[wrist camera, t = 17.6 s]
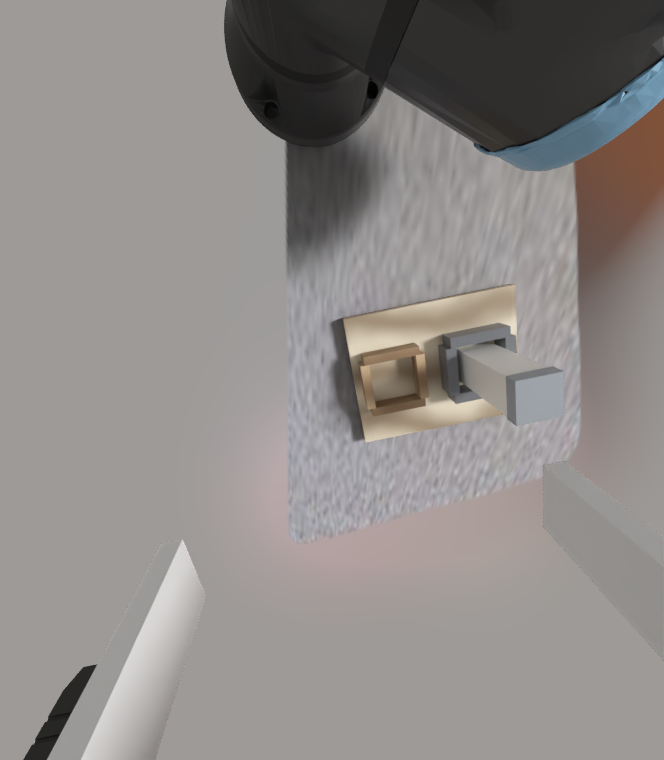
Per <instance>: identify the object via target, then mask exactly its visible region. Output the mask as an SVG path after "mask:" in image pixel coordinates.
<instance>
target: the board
mask: <svg viewBox="0 0 664 760" xmlns="http://www.w3.org/2000/svg"><path fill="white" fill-rule="evenodd" d="M342 319H343V324H344V330H345V335H346V341H347V346H348V351H349V357H350V362H351V368H352V373H353V379H354V384H355V390H356V395H357V401H358V406H359V412H360V417H361V423H362V428H363V434H364V439H365V442H370V441H375V440H380V439H385V438H390V437H395V436H400V435H405V434H409V433H414V432H419V431H424V430H429V429H434V428H439V427H444V426H449V425H453V424H458V423H463V422H468V421H473V420H478V419H483V418H488V417H493V416H497V415H502V414H503V413H501V412H500V411H499V410H497V409H496V408H495V407H494V406H492V405H491V404H490V403H488V402H487V401H486V400H484V399H478V400H473V401H468V402H463V403H459V404H455V403H454V402H453V401H452V400H451V399H450V398H449V397H448V393H447V392H445V391H444V390H443V389H442V381H441V370H440V360H439V350H438V345H441V344H443V339H442V334H446V333H451V332H455V331H460V330H465V329H470V328H475V327H480V326H485V325H490V324H495V323H502V324H505V325H508V326H510V328H511V334H513V335H516V353H517V331H516V288H515V284H507V285H502V286H497V287H493V288H488V289H483V290H478V291H473V292H468V293H463V294H458V295H453V296H448V297H443V298H439V299H434V300H429V301H424V302H419V303H414V304H409V305H404V306H399V307H394V308H389V309H385V310H380V311H375V312H370V313H365V314H360V315H355V316H350V317H345V318H342ZM488 342H491V343H493V344H495V341H494V340H492V341H488ZM409 343H415V344H417V345H418V346H419V349H420V351H421V352H423V353H424V354H425V363H426V372H427V381H428V390H429V398H425V401H426V406H423V407H418V408H413V409H408V410H404V411H399V412H394V413H389V414H384V415H379V416H374V417H373V415H372V412H371V410H368V409H367V407H366V404H365V399H364V394H363V388H362V382H361V376H360V371H359V365H358V362H362V358H361V353H365V352H370V351H375V350H380V349H384V348H389V347H394V346H399V345H404V344H409ZM369 368H370V374H371V380H372V386H373V392H374V398H375V402H376V401H381V400H385V399H390V398H395V397H400V396H405V395H410V394H415V393H416V389H415V381H414V373H413V365H412V357H406V358H401V359H396V360H391V361H386V362H382V363H377V364H372V365H369ZM459 385H463V383H462V382H460V381H459Z"/></svg>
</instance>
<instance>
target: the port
mask: <svg viewBox="0 0 664 760" xmlns="http://www.w3.org/2000/svg"><path fill="white" fill-rule="evenodd" d="M442 339H443V344H441V345H438V350H439V360H440V370H441V381H442V389H443V390H444V391H445V392H447V393H448V397H449V398H450V399H451V400H452V401H453V402H454V403H455V404H459V403H463V402H468V401H473V400H478V399H483V398H482V397H480V396H479V395H478V394H476V393H475V392H474V391H472V390H471V389H470V388H468V387H467V386H466V385H464V384H463V385H459V373H458V361H457V347H462V346H467V345H472V344H477V343H482V342H487V341H492V340H494V341H495V345H498V346H500V347H503V348H505V349H507V350H510V351H512V352H515V353H516V335H513V334H511V328H510V326H508V325H505V324H502V323H495V324H490V325H485V326H480V327H475V328H470V329H465V330H460V331H455V332H451V333H446V334H442Z"/></svg>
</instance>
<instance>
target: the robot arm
mask: <svg viewBox="0 0 664 760" xmlns="http://www.w3.org/2000/svg"><path fill="white" fill-rule="evenodd" d="M224 33H225V44H226V52H227V57H228V61H229V65H230V68H231V71H232V74H233V77H234V79H235V82H236V85H237V87H238V89H239V92H240V94H241V96H242V98H243V100H244V102H245V104H246V105H247V107H248V108H249V110H250V111H251V112H252V114H253V115H254V116H255V117H256V119H257V120H258V121H259V122H260V123H261V124H262V125H263V126H264V127H266V128H267V129H268V130H269V131H270V132H272V133H273V134H275V135H276V136H278V137H280V138H281V139H284V140H286V141H288V142H291V143H293V144H297V145H302V146H312V147H316V146H325V145H329V144H333V143H336V142H338V141H340V140H343V139H344V138H346V137H348V136H349V135H351V134H352V133H354V132H355V131H356V130H357V129H358V128H360V127H361V126H362V125H363V124H364V122H365V121H366V120H367V119H368V118H369V116H370V115H371V113H372V112H373V110H374V109H375V107H376V105H377V103H378V101H379V99H380V97H381V95H382V92H383V90H384V88H387V89H389V90H390V91H392V92H394V93H395V94H397V95H398V96H400V97H402V98H403V99H405V100H406V101H408V102H410V103H411V104H413V105H414V106H416V107H418V108H419V109H421V110H422V111H424V112H426V113H427V114H429V115H430V116H432V117H434V118H435V119H437V120H439V121H440V122H442V123H443V124H445V125H447V126H448V127H450V128H451V129H453V130H455V131H456V132H458V133H459V134H461V135H463V136H464V137H466V138H467V139H469V140H471V141H472V142H474V146H475V147H476V148H477V149H478V150H479V151H481V152H482V153H484V154H487V155H492V156H497V157H499V158H501V159H503V160H505V161H506V162H508V163H510V164H512V165H514V166H516V167H517V168H519V169H522V170H526V171H548V170H552V169H555V168H559V167H562V166H565V165H568V164H570V163H572V162H574V161H576V160H578V159H581V158H583V157H584V156H586V155H588V154H590V153H592V152H593V151H595V150H597V149H598V148H600V147H602V146H603V145H605V144H606V143H608V142H609V141H611V140H612V139H614V138H615V137H616V136H618V135H619V134H621V133H622V132H623V131H624V130H626V129H627V128H629V127H630V126H631V125H633V124H634V123H635V122H636V121H637V120H639V119H640V118H641V117H642V116H644V115H645V114H646V113H647V112H648V111H650V110H651V109H652V108H653V107H654V106H655V105H656V104H658V102H659V101H661V100H662V99H663V98H664V0H227V2H226V8H225V20H224ZM543 527H544V528H545V529H546V530H547V532H548V533H549V534H550V535H551V536H552V537H553V538H554V539H555V540H556V542H557V543H558V544H559V545H560V546H561V547H562V548H563V549H564V551H565V552H566V553H567V554H568V555H569V556H570V557H571V558H572V559H573V560H574V562H575V563H576V564H577V565H578V566H579V567H580V568H581V569H582V570H583V572H584V573H585V574H586V575H587V576H588V577H589V578H590V579H591V580H592V581H593V583H594V584H595V585H596V586H597V587H598V588H599V589H600V590H601V591H602V593H603V594H604V595H605V596H606V597H607V598H608V599H609V600H610V601H611V603H613V605H614V606H615V607H616V608H617V609H618V610H619V611H620V612H621V613H622V615H623V616H624V617H625V618H626V619H627V620H628V621H629V622H630V624H631V625H632V626H633V627H634V628H635V629H636V630H637V631H638V632H639V634H640V635H641V636H642V637H643V638H644V639H645V640H646V641H647V642H648V643H649V645H650V646H651V647H652V648H653V649H654V650H655V651H656V652H657V653H658V654H659V656H660V657H661V658H662V659H663V660H664V536H663V535H661V534H660V533H658V532H657V531H656V530H655V529H653V528H652V527H651V526H649V525H648V524H647V523H645V522H644V521H643V520H641V519H640V518H639V517H637V516H636V515H635V514H634V513H632V512H631V511H630V510H628V509H627V508H626V507H624V506H623V505H621V504H620V503H619V502H618V501H616V500H615V499H614V498H612V497H611V496H610V495H608V494H607V493H606V492H604V491H603V490H602V489H600V488H599V487H598V486H597V485H595V484H594V483H593V482H591V481H590V480H589V479H587V478H586V477H585V476H583V475H582V474H581V473H579V472H578V471H577V470H576V469H574V468H573V467H571V466H570V465H569V464H568V463H566V462H565V461H561V462H556V463H552V464H547V465H543ZM205 597H206V595H205V592H204V590H203V588H202V585H201V583H200V580H199V578H198V575H197V573H196V571H195V568H194V566H193V563H192V561H191V559H190V556H189V554H188V551H187V549H186V546H185V544H184V542H183V539H181V540H176V541H171V542H166V543H162V544H161V545H160V547H159V549H158V551H157V553H156V555H155V557H154V559H153V560H152V562H151V564H150V566H149V568H148V570H147V572H146V574H145V576H144V577H143V579H142V581H141V583H140V585H139V587H138V589H137V591H136V593H135V594H134V596H133V598H132V600H131V602H130V604H129V606H128V608H127V610H126V612H125V613H124V616H123V617H122V619H121V621H120V623H119V625H118V627H117V628H116V630H115V632H114V634H113V636H112V638H111V640H110V642H109V643H108V645H107V647H106V649H105V651H104V653H103V655H102V657H101V659H100V661H99V662H98V664H97V665H92V666H87V667H83V668H82V669H81V671H80V672H79V673H78V674H77V675H76V676H75V678H74V679H73V680H72V681H71V682H70V683H69V685H68V686H67V687H66V688H65V689H64V690H63V692H62V694H61V696H60V697H59V699H58V701H57V703H56V704H55V706H54V708H53V709H52V711H51V713H50V715H49V716H48V721H47V722H45V723H44V725H43V727H42V728H41V730H40V732H39V734H38V735H37V737H36V739H35V740H36V741H35V744H34V745H32V746H31V748H30V749H29V751H28V753H27V754H26V756H25V758H24V760H155V759H156V756H157V753H158V749H159V746H160V743H161V740H162V736H163V733H164V730H165V727H166V723H167V720H168V717H169V714H170V711H171V707H172V704H173V701H174V698H175V694H176V691H177V688H178V685H179V682H180V678H181V675H182V672H183V669H184V665H185V662H186V659H187V655H188V653H189V649H190V646H191V643H192V639H193V636H194V633H195V630H196V627H197V623H198V620H199V617H200V614H201V610H202V607H203V604H204V601H205Z"/></svg>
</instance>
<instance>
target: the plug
mask: <svg viewBox="0 0 664 760" xmlns="http://www.w3.org/2000/svg"><path fill="white" fill-rule="evenodd" d="M457 361H458V373H459V381H460V382H462V383H463V384H464V385H466V386H467V387H468V388H470V389H471V390H472V391H474V392H475V393H476V394H478V395H479V396H480V397H482V398H483V399H484V400H486V401H487V402H488V403H490V404H491V405H492V406H494V407H495V408H496V409H497V410H499V411H500V412H501V413H503V414H504V415H505V416H507V419H508V420H509V421H511V422H512V423H513V424H515V425H516V426H519V425H524V424H529V423H533V422H538V421H543V420H548V419H553V418H557V417H562V416H564V371H562V370H560V369H557V368H555V367H553V366H552V367H548V366H546V365H543V364H541V363H539V362H536V361H534V360H531V359H529V358H527V357H524V356H522V355H519V354H517V353H515V352H512V351H510V350H507V349H505V348H503V347H500V346H498V345H495V344H493V343H491V342H488V341H487V342H482V343H477V344H472V345H467V346H462V347H457Z"/></svg>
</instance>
